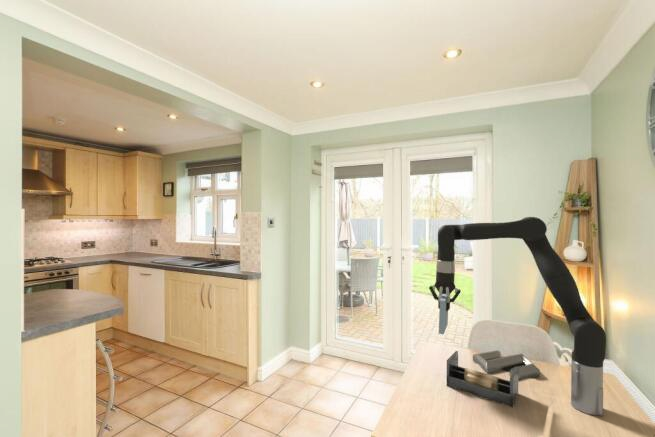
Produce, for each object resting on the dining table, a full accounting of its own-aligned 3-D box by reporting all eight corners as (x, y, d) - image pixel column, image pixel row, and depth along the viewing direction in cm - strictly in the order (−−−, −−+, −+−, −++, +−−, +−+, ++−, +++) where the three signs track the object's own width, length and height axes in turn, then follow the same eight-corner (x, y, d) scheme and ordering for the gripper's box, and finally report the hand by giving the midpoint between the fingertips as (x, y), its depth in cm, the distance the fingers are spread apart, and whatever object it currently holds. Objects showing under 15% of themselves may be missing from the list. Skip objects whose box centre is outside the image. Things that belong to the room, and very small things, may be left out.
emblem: (479, 341, 171) (542, 355, 154) (479, 351, 171) (542, 366, 154) (465, 360, 149) (537, 378, 132) (465, 371, 149) (537, 391, 132)
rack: (518, 397, 127) (518, 367, 127) (512, 411, 118) (513, 379, 118) (455, 377, 142) (455, 350, 142) (446, 389, 133) (446, 360, 133)
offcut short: (492, 396, 125) (492, 380, 125) (491, 398, 124) (491, 383, 124) (468, 388, 131) (468, 373, 131) (466, 390, 129) (466, 375, 129)
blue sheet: (443, 334, 134) (444, 301, 134) (438, 333, 135) (439, 300, 135) (447, 324, 147) (448, 293, 146) (442, 323, 147) (444, 293, 147)
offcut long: (498, 394, 126) (498, 377, 126) (496, 397, 124) (497, 379, 124) (465, 384, 134) (466, 368, 134) (464, 386, 132) (464, 369, 132)
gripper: (427, 270, 140) (426, 309, 140) (461, 273, 134) (460, 315, 134) (430, 267, 147) (429, 305, 147) (463, 271, 140) (461, 310, 141)
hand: (444, 310), depth 141 cm, fingers closed on blue sheet, 2 cm apart
